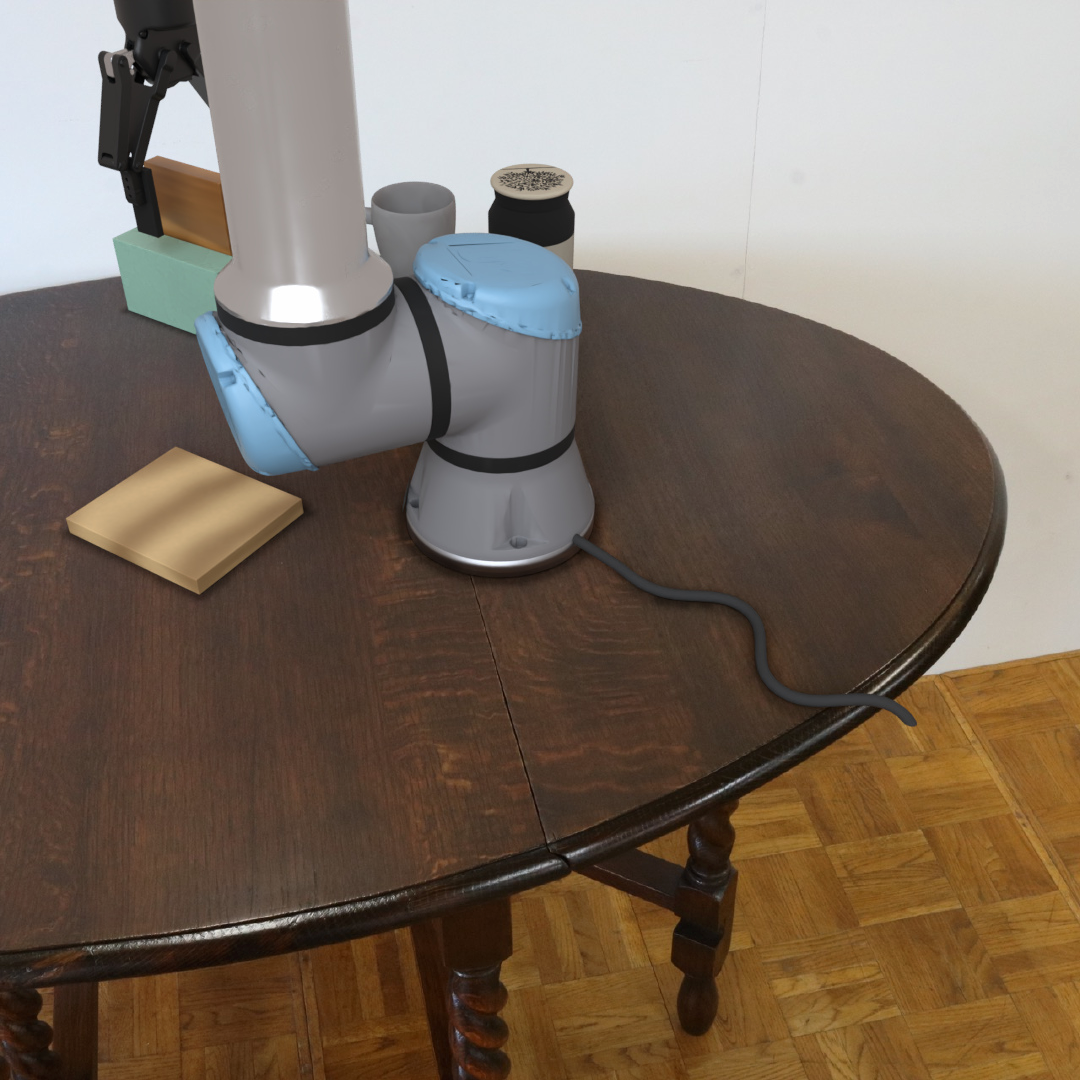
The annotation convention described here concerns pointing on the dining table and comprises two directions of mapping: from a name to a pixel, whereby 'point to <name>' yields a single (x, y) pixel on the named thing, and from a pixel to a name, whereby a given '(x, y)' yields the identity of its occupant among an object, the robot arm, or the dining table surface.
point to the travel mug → (534, 207)
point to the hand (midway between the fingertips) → (195, 212)
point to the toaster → (168, 277)
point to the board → (186, 518)
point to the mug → (409, 220)
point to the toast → (191, 203)
